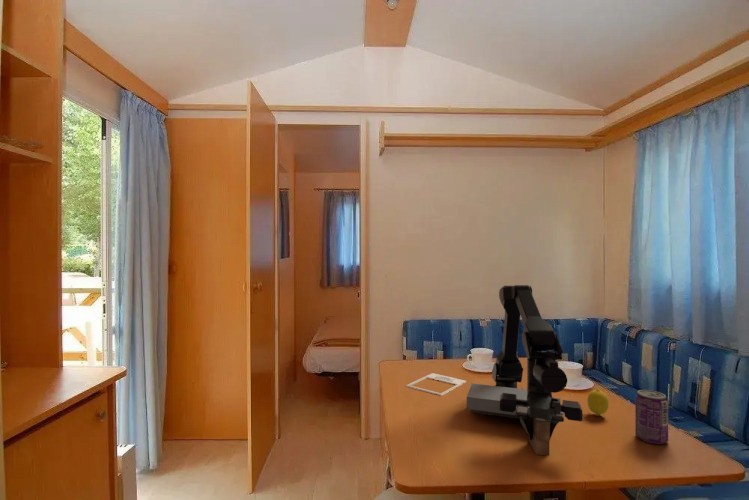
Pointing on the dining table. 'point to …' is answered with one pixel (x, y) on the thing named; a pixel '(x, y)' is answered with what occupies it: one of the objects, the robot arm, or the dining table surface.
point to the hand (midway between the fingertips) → (539, 440)
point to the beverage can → (651, 416)
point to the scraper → (539, 435)
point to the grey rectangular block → (491, 399)
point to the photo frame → (440, 378)
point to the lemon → (598, 402)
